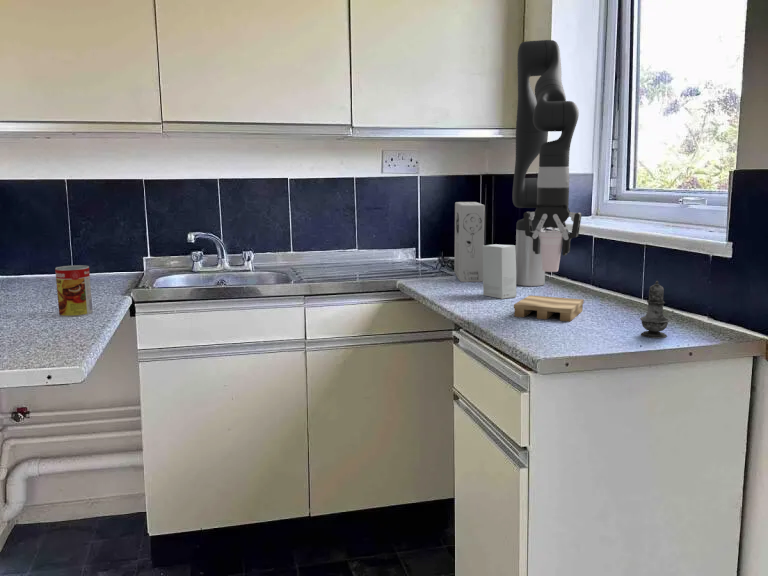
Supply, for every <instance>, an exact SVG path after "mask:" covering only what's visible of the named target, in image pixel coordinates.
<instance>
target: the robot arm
mask: <svg viewBox="0 0 768 576" xmlns="http://www.w3.org/2000/svg"><path fill="white" fill-rule="evenodd" d="M560 50H561V49H560V45H559V44H558V42H556V41H555V40H552V39H542V40H540V39H539V40H526V41H522V42H521V43H520V44H519V45H518V50H517V110H516V122H515V123H516V124H515V162H514V174H513V182H512V183H513V184H512V192H511V193H512V203H513V206H514V207H516V208H517V209H518V208H519V209H525V208H526V209H535V211H525V212H523V218H522V219H518V220H517V222H516V225H515V226H516V229H515V231H516V235H515V240H516V241H515V250H516V286H517V285H518V286H527V287H539V286H540V287H541V286H544V285H545V283H546V281H545V280H546V272H545V271H543V268H542V256H541V245H540V236H538V235H539V232H541V231H547V228H552V227H553V228H555V229H558V231H560V232H561V233H563V234H562V236H563V244H562V252H561V255H562V256H567V255H568V254H569V253H570V251H571V240H572V239H574V238H577V237H579V234H580V228H581V227H580V226H581V222H582V213H581V212H572V211H570V208H569V201H570V200H569V198H570V197H569V196H570V150H571V143H572V141H573V140H572V139H573V136H574V133H575V130H576V126H577V123H578V120H579V115H580V113H579V112H580V111H579V108H578V105H577V104H576V103H575V102H574V101H571V100H566V99H567V96H566V93H565V89H564V86H563V82H562V81H563V80H562V58H561V51H560ZM530 77H539V78H538V79H537V81H536V83H535V86H534V91H533V88H532V85H531V83H530ZM550 132H561V134H560V136H559V137H558V138H557V139H555V140H551V141H548V139H549V138H548V137H549V133H550ZM538 156H539V162H538V173H537V177H526V175H527V173H528V170H529V168H530V166H531V165H532V163H533V162H534V161H535V159H536V158H537V157H538ZM569 217H570V220H571V221H572V229H571V233H570V232H569V228H568V225H567V224H566V221H567V220H568V219H569Z"/></svg>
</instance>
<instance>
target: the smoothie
mask: <svg viewBox="0 0 768 576" xmlns="http://www.w3.org/2000/svg"><path fill="white" fill-rule="evenodd" d="M562 234H563V233H561V232H560V230H556V228H553V227H551V230H546V231H541V232H539V235H538V236H540V245H541V256H542V268H543V271H545V273H557V272H559V268H560V261H561V256H562V251H563V240H564V238H563V236H562Z"/></svg>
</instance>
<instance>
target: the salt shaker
mask: <svg viewBox="0 0 768 576" xmlns="http://www.w3.org/2000/svg"><path fill="white" fill-rule="evenodd" d="M664 290H665V289H664V287H663V286H662V285H660V283H659V281H658V280H656V281H655V283H654V284H653V285H650V286H649V290H648V300H647V301H646V303H647V313H646V315H645V316H642V317H640V319H639V320H641V325H642V327H643V329H644V330H645V331H643V332H640V336H641V337H645V338H649V339H665V338H667V337H668V335H667V334H666V333H665V332H664V330H665V329H666V328H667V327H668V324H669V322H670V319H669V318H667V317H666V316H664V304H665V303H666V302H665V301H664V293H665V292H664ZM662 331H663V332H662Z"/></svg>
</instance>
